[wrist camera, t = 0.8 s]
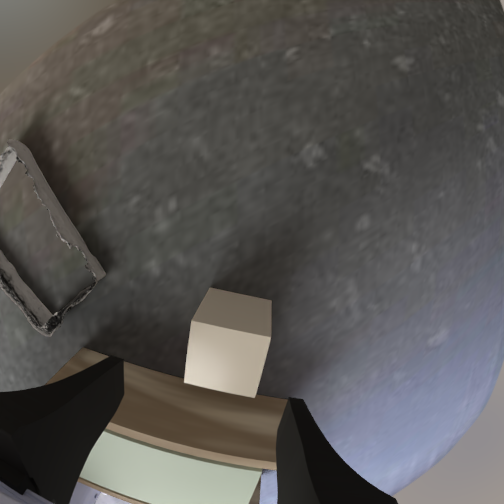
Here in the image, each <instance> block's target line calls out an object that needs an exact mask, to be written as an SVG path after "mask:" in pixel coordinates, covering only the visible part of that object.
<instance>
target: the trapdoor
mask: <svg viewBox="0 0 504 504" xmlns="http://www.w3.org/2000/svg"><path fill="white" fill-rule="evenodd" d="M261 473H262V468H255V467H249V466H242V465H236V464H231V463H226V462H220V461H216V460H211V459H206V458H202V457H197V456H193V455H189V454H185V453H181V452H177V451H174V450H170V449H166V448H163V447H159V446H156V445H153V444H149V443H146V442H143V441H140V440H137V439H134V438H131V437H128V436H125V435H122V434H120V433H117V432H114V431H111V430H109V429H106V428H105V430H104V431H103V433H102V434H101V436H100V437H99V439H98V440H97V442H96V443H95V445H94V447H93V448H92V450H91V452H90V454H89V456H88V458H87V460H86V462H85V465H84V467H83V469H82V471H81V474H80V476H79V477H82V478H84V479H86V480H88V481H91V482H93V483H95V484H98V485H100V486H103V487H105V488H108V489H110V490H113V491H115V492H118V493H121V494H124V495H126V496H129V497H132V498H135V499H138V500H141V501H144V502H147V503H151V504H249V501H250V499H251V497H252V495H253V492H254V490H255V488H256V485H257V483H258V481H259V478H260V476H261Z"/></svg>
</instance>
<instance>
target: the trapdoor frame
mask: <svg viewBox="0 0 504 504" xmlns="http://www.w3.org/2000/svg"><path fill="white" fill-rule="evenodd" d="M107 357H109V356H106V355H104V354H101V353H98V352H95V351H92V350H90V349H87V348H84V347H83V348H82V349H80V350H79V351H78V352H77V353H76V354H75V355H74V356H73V357H72V358H71V359H70V360H69V361H68V362H67V363H66V364H65V365H64V366H63V367H62V368H61V369H60V370H59V371H58V372H57V373H56V374H55V375H54V376H53V377H52V378H51V379H50V380H49V381H48V382H47V383H46V384H45V385H47V384H51V383H54V382H57V381H59V380H62V379H64V378H66V377H69V376H71V375H73V374H76V373H78V372H80V371H82V370H84V369H86V368H88V367H90V366H92V365H94V364H96V363H98V362H100V361H102V360H104V359H105V358H107ZM124 392H125V394H124V396H123V399H122V401H121V403H120V405H119V407H118V409H117V411H116V413H115V414H114V416H113V418H112V419H111V421H110V422H109V424H108V425H107V427H106V429H109V430H111V431H114V432H117V433H120V434H122V435H125V436H128V437H131V438H134V439H137V440H140V441H143V442H146V443H149V444H153V445H156V446H159V447H163V448H166V449H170V450H174V451H177V452H181V453H185V454H189V455H193V456H197V457H202V458H206V459H211V460H216V461H220V462H226V463H231V464H236V465H242V466H249V467H255V468H262V469H270V470H277V466H276V438H277V429H278V426H279V423H280V421H281V418H282V415H283V412H284V409H285V406H286V404H287V401H288V400H287V399H281V398H275V397H268V396H263V395H257V394H256V396H255V398H252V397H247V396H242V395H237V394H232V393H227V392H222V391H217V390H213V389H208V388H204V387H200V386H196V385H192V384H188V383H184V379H183V378H180V377H176V376H172V375H168V374H165V373H161V372H157V371H154V370H151V369H147V368H144V367H140V366H137V365H134V364H131V363H128V362H125V361H124ZM77 482H80V483H82V484H84V485H86V486H89V487H91V488H93V489H96V490H98V491H100V492H103V493H105V494H108V495H110V496H113V497H116V498H118V499H121V500H124V501H127V502H129V503H132V504H151V503H147V502H144V501H141V500H138V499H135V498H132V497H129V496H126V495H124V494H121V493H118V492H115V491H113V490H110V489H108V488H105V487H103V486H100V485H98V484H95V483H93V482H91V481H88V480H86V479H84V478H82V477H79V478H78V481H77ZM260 484H261V476H260V478H259V481H258V483H257V485H256V488H255V490H254V492H253V495H252V497H251V499H250V501H249V504H259V500H260Z"/></svg>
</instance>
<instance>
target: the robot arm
mask: <svg viewBox="0 0 504 504" xmlns="http://www.w3.org/2000/svg"><path fill="white" fill-rule="evenodd" d="M124 394H125V392H124V359H121V358H117V357H114V356H110V357H107V358H105V359H104V360H102V361H100V362H98V363H96V364H94V365H92V366H90V367H88V368H86V369H84V370H82V371H80V372H78V373H76V374H73V375H71V376H69V377H66V378H64V379H62V380H59V381H57V382H54V383H51V384H47V385H44V386H40V387H36V388H31V389H26V390H20V391H11V392H0V504H95V502H96V500H97V498H98V496H99V494H100V493H102V494H104V495H108V494H105V493H103V492H100V491H98V490H96V489H93V488H91V487H89V486H86V485H84V484H82V483H80V482H77V481H78V478H79V476H80V474H81V471H82V469H83V467H84V465H85V462H86V460H87V458H88V456H89V454H90V452H91V450H92V448H93V447H94V445H95V443H96V442H97V440H98V439H99V437H100V436H101V434H102V433H103V431H104V430H105V428H106V427H107V425H108V424H109V422H110V421H111V419H112V418H113V416H114V414H115V413H116V411H117V409H118V407H119V405H120V403H121V401H122V399H123V396H124ZM276 466H277V484H278V501H277V504H398V503H397V500H396V499H395V498H393V497H392V496H390V495H388V494H386V493H384V492H383V491H381V490H379V489H378V488H376V487H375V486H373V485H372V484H370V483H369V482H367V481H366V480H365V479H364V478H362V477H361V476H360V475H359V474H357V473H356V472H355V471H354V470H353V469H352V468H351V467H350V466H349V465H348V464H347V463H346V462H345V461H344V460H343V459H342V458H341V457H340V456H339V455H338V454H337V453H336V451H335V450H334V449H333V448H332V446H331V445H330V444H329V442H328V441H327V439H326V438H325V436H324V435H323V433H322V432H321V430H320V429H319V427H318V426H317V424H316V422H315V420H314V419H313V417H312V415H311V413H310V411H309V410H308V408H307V406H306V404H305V402H304V400H303V399H297V398H290V397H289V398H288V401H287V404H286V406H285V409H284V412H283V415H282V418H281V421H280V423H279V426H278V429H277V438H276Z"/></svg>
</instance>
